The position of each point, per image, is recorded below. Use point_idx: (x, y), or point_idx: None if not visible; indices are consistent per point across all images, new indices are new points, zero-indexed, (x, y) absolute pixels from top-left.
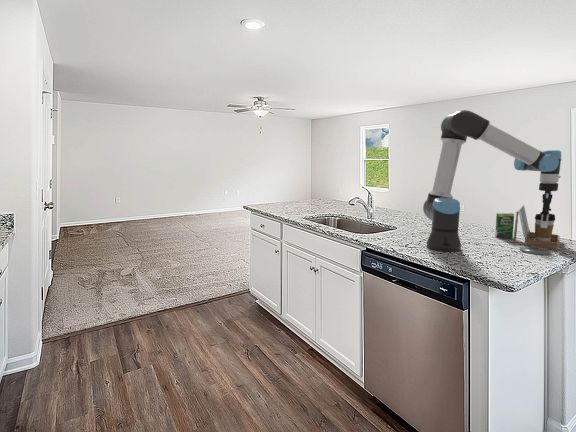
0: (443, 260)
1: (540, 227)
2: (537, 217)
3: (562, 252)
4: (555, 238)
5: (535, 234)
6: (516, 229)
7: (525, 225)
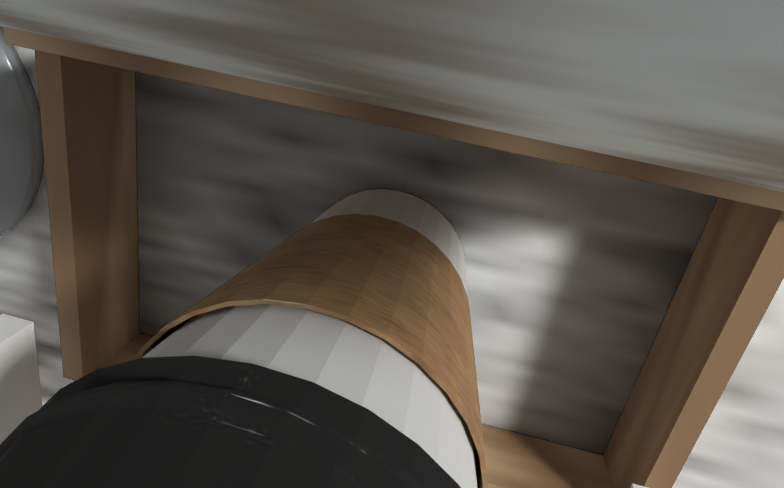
0: None
1: (2, 315)
2: (22, 439)
3: (51, 350)
4: (619, 470)
5: (325, 223)
6: None
7: (233, 51)
